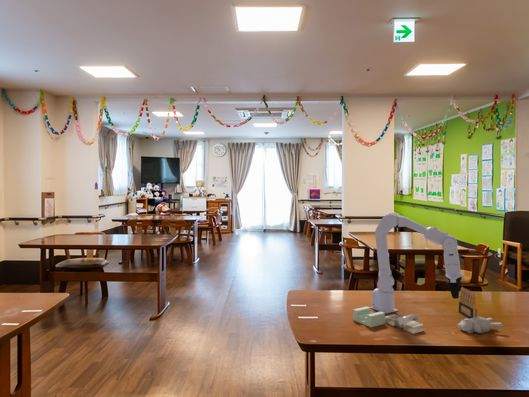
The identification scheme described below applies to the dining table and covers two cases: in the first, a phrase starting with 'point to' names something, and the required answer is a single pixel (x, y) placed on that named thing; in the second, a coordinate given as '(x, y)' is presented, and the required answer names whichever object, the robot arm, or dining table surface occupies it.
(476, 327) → the bunny figurine
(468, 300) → the ammunition clip
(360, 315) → the v block
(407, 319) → the axle
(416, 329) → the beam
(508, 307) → the dining table surface
